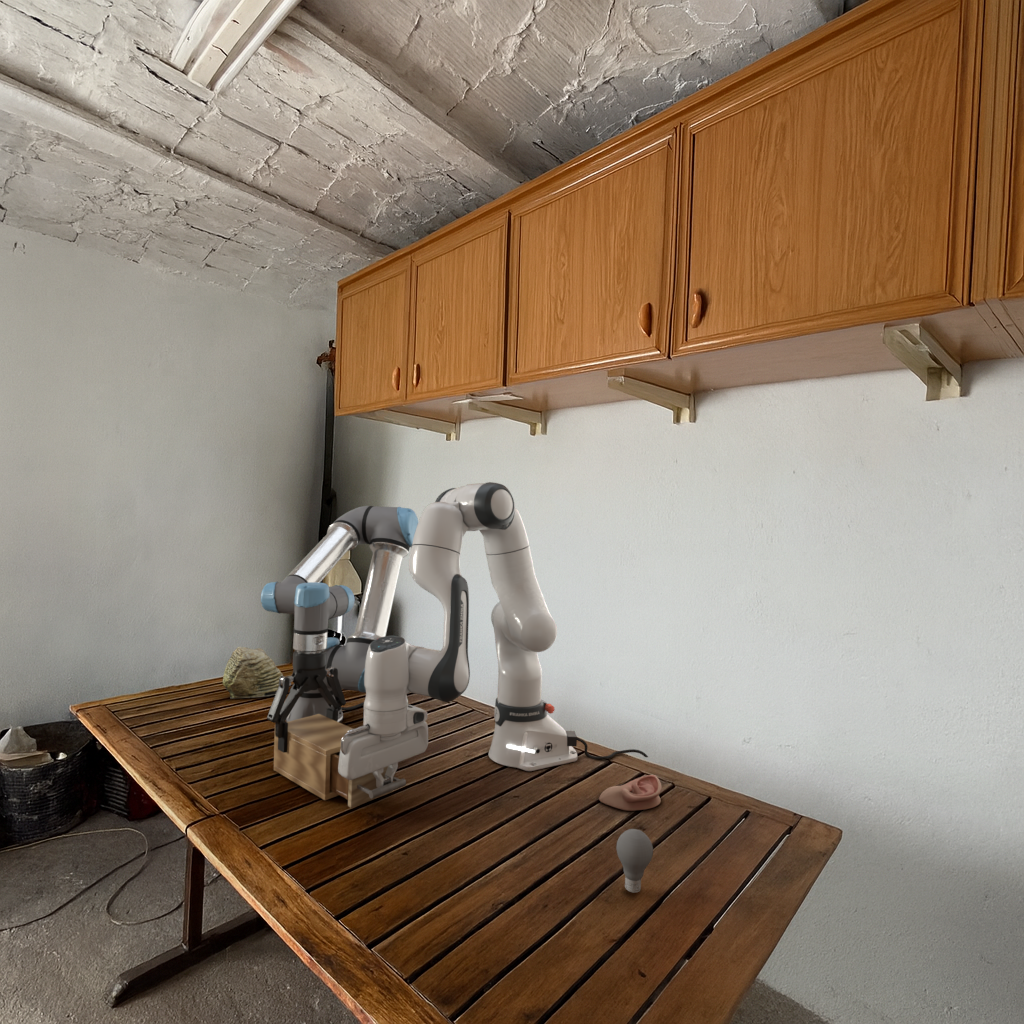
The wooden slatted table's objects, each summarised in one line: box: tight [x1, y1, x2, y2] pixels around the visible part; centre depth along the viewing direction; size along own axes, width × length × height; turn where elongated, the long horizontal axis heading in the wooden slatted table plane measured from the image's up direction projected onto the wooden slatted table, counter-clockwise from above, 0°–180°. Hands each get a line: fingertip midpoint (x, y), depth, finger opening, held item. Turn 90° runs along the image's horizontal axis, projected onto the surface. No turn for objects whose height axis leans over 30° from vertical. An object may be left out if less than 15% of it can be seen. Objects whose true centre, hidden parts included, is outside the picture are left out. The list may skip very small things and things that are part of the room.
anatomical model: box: [598, 774, 663, 812], centre depth 139 cm, size 13×4×12 cm
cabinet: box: [273, 714, 354, 801], centre depth 143 cm, size 21×12×10 cm, turn 49°
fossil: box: [222, 646, 284, 699], centre depth 198 cm, size 9×18×15 cm, turn 132°
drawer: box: [330, 752, 407, 809], centre depth 135 cm, size 26×10×8 cm, turn 49°
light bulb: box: [615, 828, 654, 894], centre depth 106 cm, size 6×6×10 cm
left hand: (306, 743), depth 147 cm, fingers closed on cabinet, 11 cm apart
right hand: (384, 786), depth 128 cm, fingers closed
